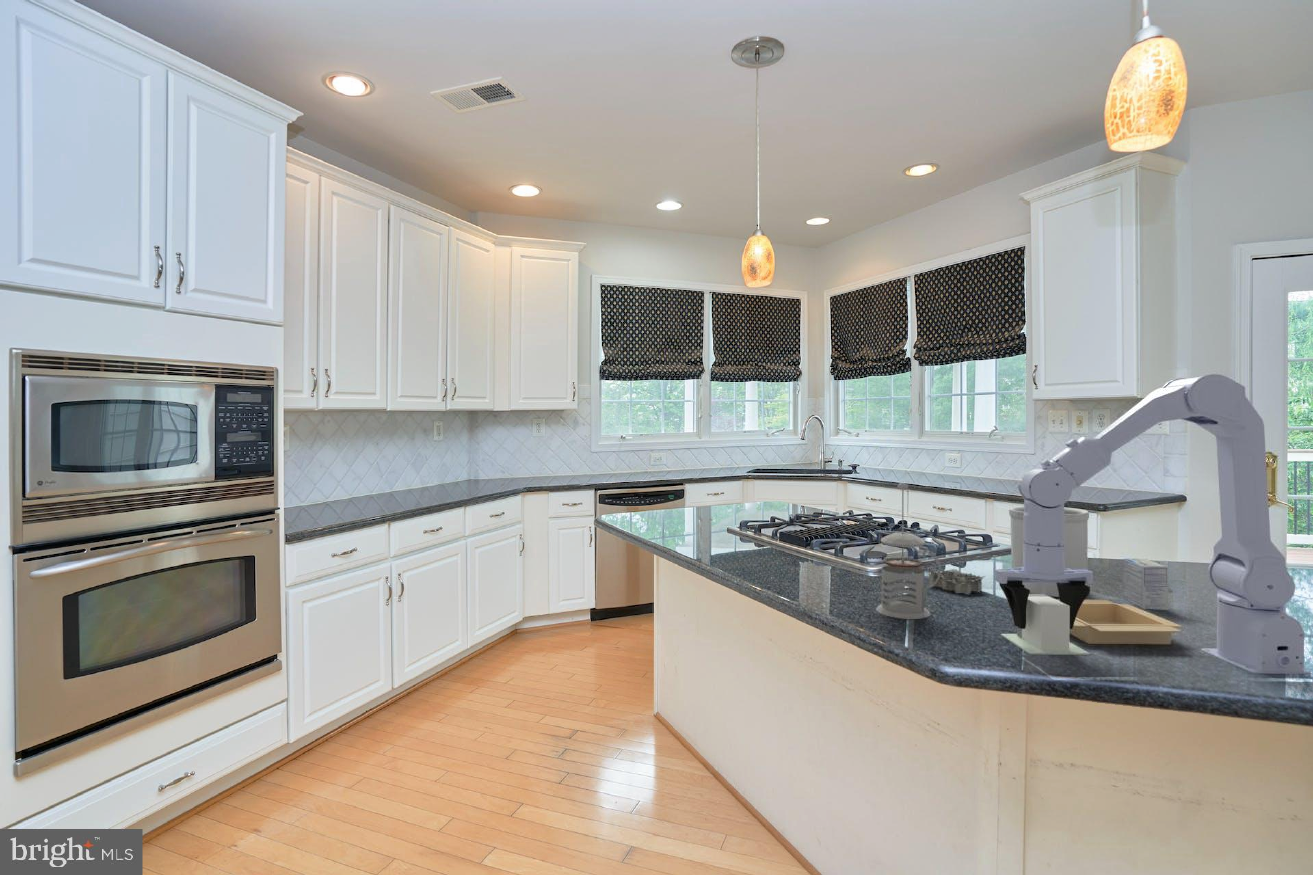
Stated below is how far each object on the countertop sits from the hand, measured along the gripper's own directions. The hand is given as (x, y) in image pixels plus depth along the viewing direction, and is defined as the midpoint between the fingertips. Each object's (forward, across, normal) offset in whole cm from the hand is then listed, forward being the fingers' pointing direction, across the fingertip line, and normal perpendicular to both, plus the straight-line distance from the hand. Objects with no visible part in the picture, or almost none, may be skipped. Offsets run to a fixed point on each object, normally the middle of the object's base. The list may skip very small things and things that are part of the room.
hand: (1043, 626), depth 103 cm
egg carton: (+4, -2, -38) cm, 38 cm away
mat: (+3, 0, 0) cm, 3 cm away
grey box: (+3, 0, 0) cm, 3 cm away
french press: (+3, +15, -19) cm, 24 cm away
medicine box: (+3, -33, -24) cm, 41 cm away
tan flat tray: (+3, -14, -7) cm, 16 cm away
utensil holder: (+3, -21, -36) cm, 42 cm away
